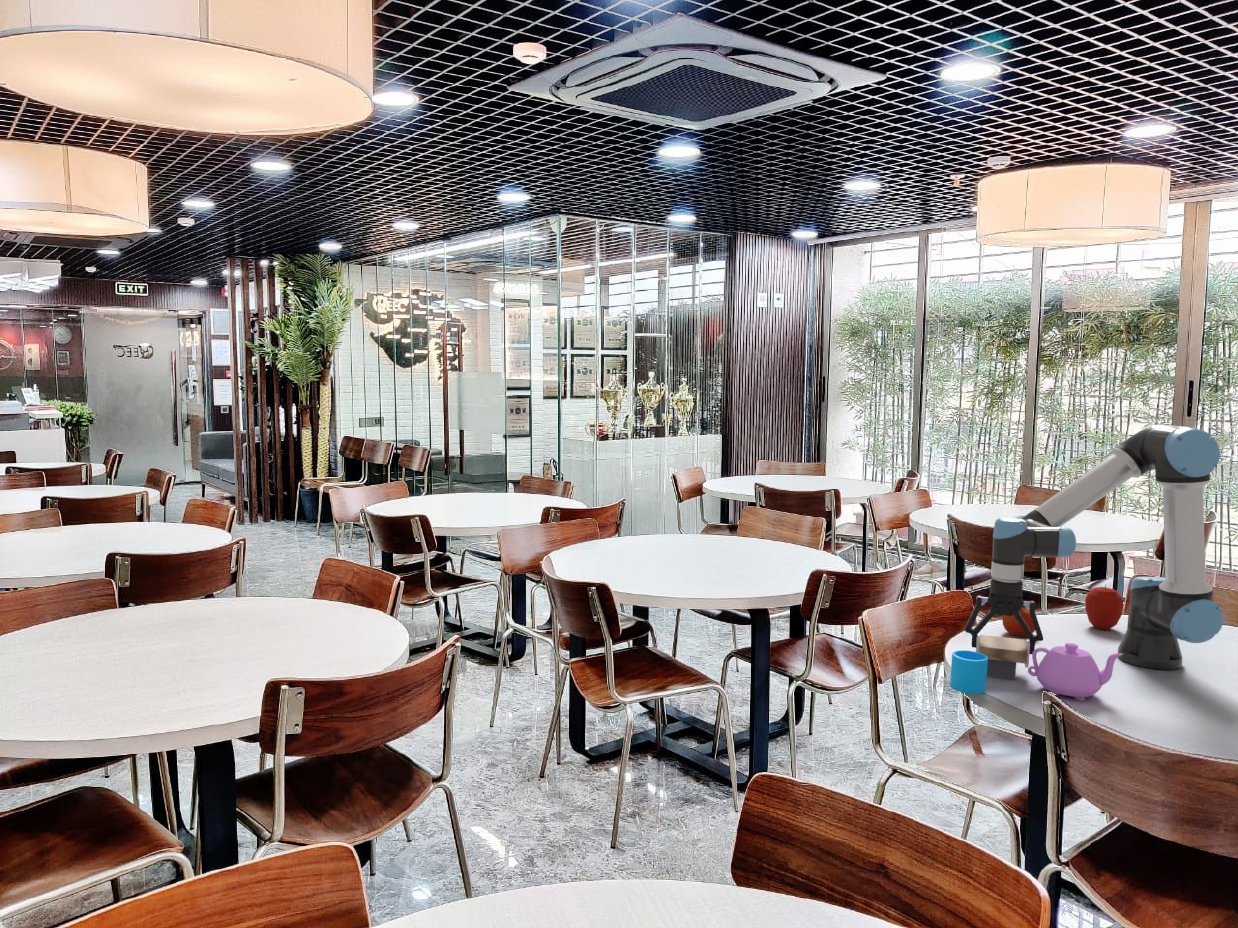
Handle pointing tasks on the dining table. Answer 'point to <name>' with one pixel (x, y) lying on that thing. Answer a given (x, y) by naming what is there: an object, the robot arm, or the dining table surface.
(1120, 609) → the apple
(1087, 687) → the teapot
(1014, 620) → the fruit
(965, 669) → the mug
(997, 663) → the block
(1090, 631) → the dining table surface
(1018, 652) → the block
